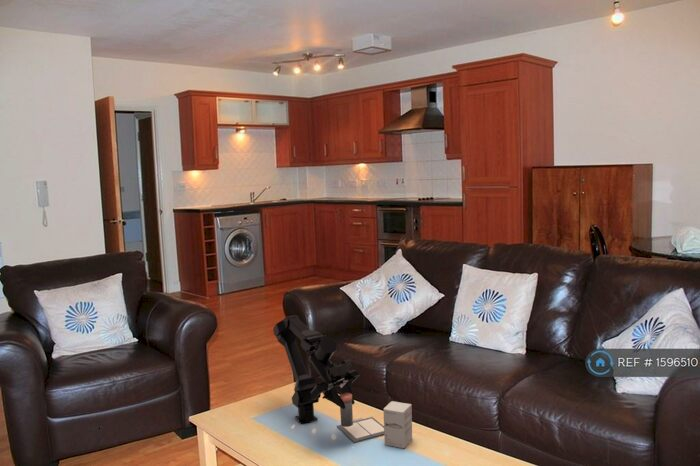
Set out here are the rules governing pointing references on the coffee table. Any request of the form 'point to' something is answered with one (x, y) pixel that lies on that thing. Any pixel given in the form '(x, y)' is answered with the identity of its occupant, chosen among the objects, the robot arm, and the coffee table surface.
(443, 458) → the coffee table surface
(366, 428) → the grey framed board
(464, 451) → the coffee table surface
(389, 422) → the supplement box
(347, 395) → the ball
